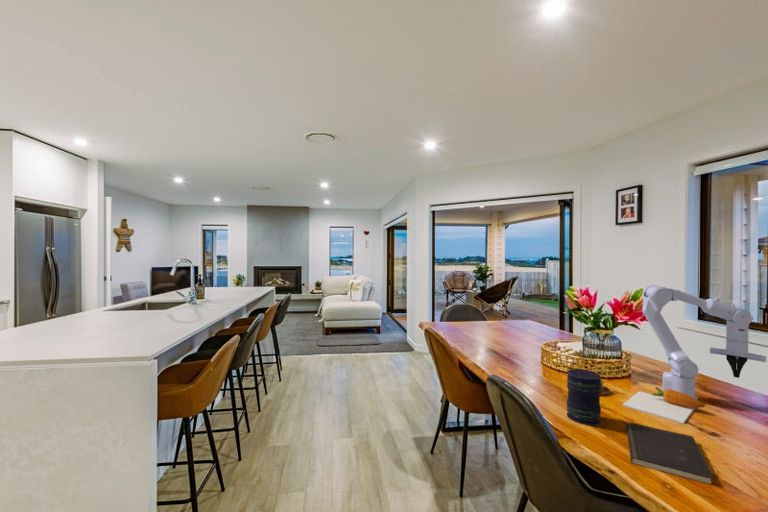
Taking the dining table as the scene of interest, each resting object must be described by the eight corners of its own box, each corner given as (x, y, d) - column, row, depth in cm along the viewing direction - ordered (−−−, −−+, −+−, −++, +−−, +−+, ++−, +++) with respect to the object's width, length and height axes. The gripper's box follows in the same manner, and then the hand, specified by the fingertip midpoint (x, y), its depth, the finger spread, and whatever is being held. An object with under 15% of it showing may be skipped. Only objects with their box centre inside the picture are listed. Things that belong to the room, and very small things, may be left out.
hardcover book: (692, 444, 102) (692, 436, 102) (713, 487, 82) (713, 478, 82) (626, 428, 110) (626, 421, 110) (630, 465, 91) (631, 456, 91)
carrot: (707, 399, 122) (655, 385, 134) (704, 397, 120) (651, 383, 132) (705, 414, 121) (653, 398, 133) (702, 412, 119) (649, 396, 131)
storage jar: (600, 416, 118) (601, 363, 118) (601, 428, 109) (601, 371, 109) (567, 409, 123) (567, 358, 123) (565, 420, 114) (566, 366, 114)
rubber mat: (622, 405, 126) (622, 404, 126) (639, 392, 139) (639, 391, 139) (683, 423, 113) (683, 422, 113) (695, 407, 126) (695, 405, 126)
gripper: (767, 342, 125) (766, 380, 125) (712, 335, 136) (711, 369, 136) (765, 345, 121) (765, 384, 121) (709, 337, 132) (708, 373, 132)
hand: (736, 376), depth 128 cm, fingers closed
